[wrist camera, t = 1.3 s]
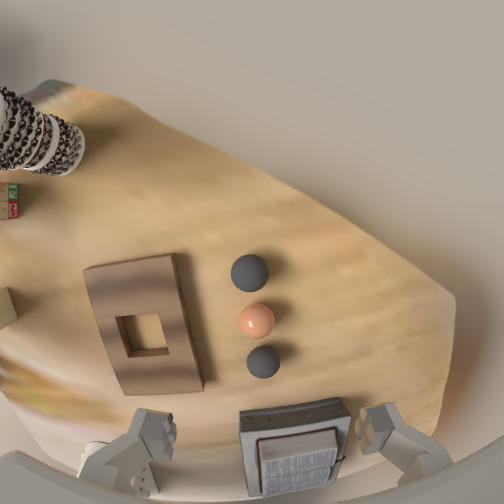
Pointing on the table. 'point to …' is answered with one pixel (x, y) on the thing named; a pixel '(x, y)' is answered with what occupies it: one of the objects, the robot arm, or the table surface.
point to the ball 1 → (249, 273)
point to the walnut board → (140, 302)
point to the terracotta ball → (257, 321)
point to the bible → (293, 446)
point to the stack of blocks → (8, 201)
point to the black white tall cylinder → (36, 138)
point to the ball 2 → (263, 362)
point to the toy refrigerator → (6, 309)
